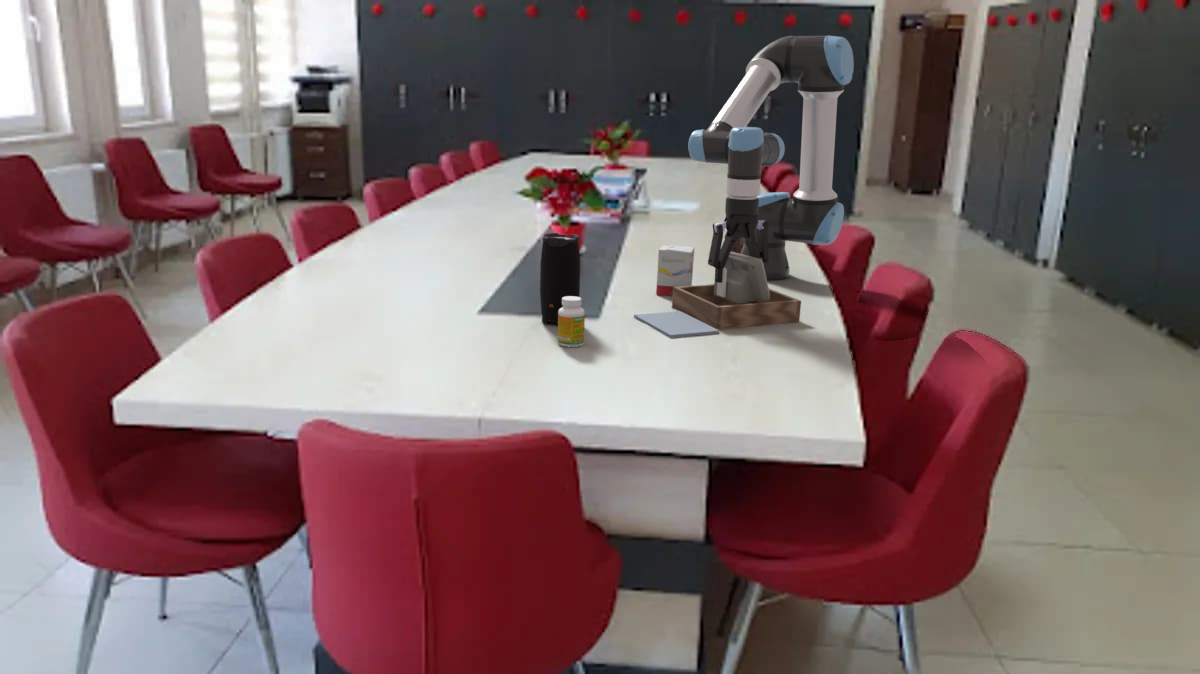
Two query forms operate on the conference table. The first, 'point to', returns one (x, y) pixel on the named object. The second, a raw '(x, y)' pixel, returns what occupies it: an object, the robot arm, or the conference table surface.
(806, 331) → the conference table surface
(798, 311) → the walnut tray
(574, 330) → the supplement bottle
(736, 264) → the digital clock
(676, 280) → the ink box
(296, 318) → the conference table surface
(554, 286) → the portable speaker
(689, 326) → the slate mat
